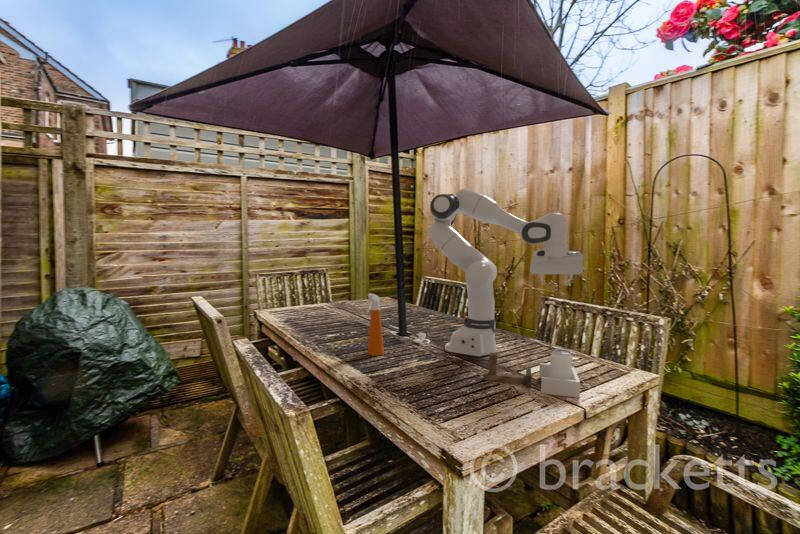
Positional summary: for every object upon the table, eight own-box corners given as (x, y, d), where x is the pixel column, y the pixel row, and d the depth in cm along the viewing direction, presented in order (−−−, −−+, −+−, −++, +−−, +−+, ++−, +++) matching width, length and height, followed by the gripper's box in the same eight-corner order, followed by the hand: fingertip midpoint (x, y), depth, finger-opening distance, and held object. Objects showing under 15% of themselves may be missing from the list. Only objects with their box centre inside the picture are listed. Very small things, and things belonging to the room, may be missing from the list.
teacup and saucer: (416, 345, 169) (416, 336, 169) (409, 340, 177) (409, 332, 176) (433, 343, 173) (433, 334, 172) (425, 338, 180) (425, 330, 180)
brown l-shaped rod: (482, 382, 126) (483, 356, 125) (484, 374, 133) (485, 349, 132) (531, 388, 121) (531, 361, 120) (530, 379, 128) (531, 354, 128)
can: (560, 392, 117) (562, 355, 116) (545, 385, 123) (546, 350, 122) (575, 389, 120) (576, 353, 119) (559, 382, 126) (560, 347, 125)
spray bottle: (359, 357, 152) (358, 293, 150) (372, 349, 162) (372, 290, 159) (374, 359, 149) (374, 295, 147) (387, 352, 159) (386, 291, 156)
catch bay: (541, 393, 117) (541, 377, 117) (539, 377, 130) (539, 363, 130) (579, 397, 114) (580, 382, 113) (573, 380, 127) (574, 366, 126)
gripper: (582, 251, 153) (582, 284, 154) (530, 251, 160) (530, 283, 161) (584, 251, 147) (584, 286, 148) (530, 252, 154) (530, 285, 155)
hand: (555, 285), depth 154 cm, fingers open, 8 cm apart
